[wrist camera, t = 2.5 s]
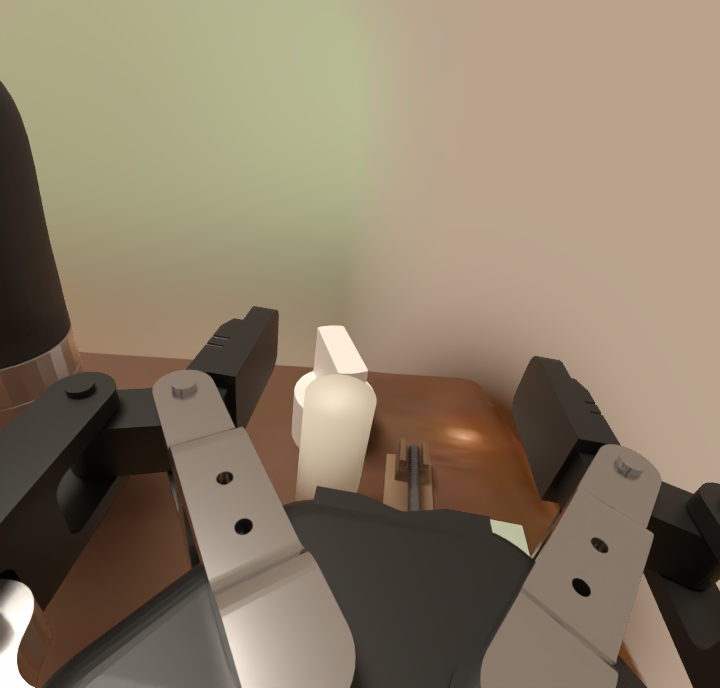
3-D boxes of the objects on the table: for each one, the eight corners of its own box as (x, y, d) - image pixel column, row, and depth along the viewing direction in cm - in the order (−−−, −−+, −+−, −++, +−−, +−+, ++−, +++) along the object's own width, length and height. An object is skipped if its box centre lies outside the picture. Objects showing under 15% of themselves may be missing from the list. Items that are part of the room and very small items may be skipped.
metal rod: (403, 641, 28) (407, 633, 28) (407, 449, 44) (409, 441, 43) (420, 644, 28) (424, 636, 28) (418, 451, 44) (420, 443, 43)
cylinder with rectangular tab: (377, 454, 46) (397, 369, 40) (299, 466, 43) (307, 377, 37) (354, 402, 54) (367, 324, 47) (285, 410, 50) (290, 327, 44)
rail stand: (369, 669, 29) (378, 644, 27) (385, 458, 46) (391, 433, 44) (438, 682, 29) (452, 659, 27) (429, 466, 46) (437, 441, 44)
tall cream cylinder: (286, 550, 36) (296, 413, 27) (300, 500, 40) (313, 369, 32) (344, 561, 35) (373, 427, 27) (352, 509, 40) (379, 381, 31)
